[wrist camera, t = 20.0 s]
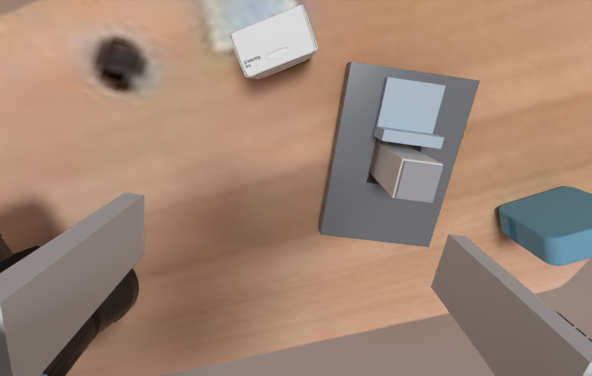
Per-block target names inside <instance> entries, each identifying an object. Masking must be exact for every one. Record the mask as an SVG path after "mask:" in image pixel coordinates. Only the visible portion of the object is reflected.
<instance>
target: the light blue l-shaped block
mask: <svg viewBox="0 0 592 376" xmlns="http://www.w3.org/2000/svg"><path fill="white" fill-rule="evenodd" d="M445 87H446V86H445V85H438V84H432V83H425V82H418V81H411V80H405V79H398V78H391V77H386V80H385V85H384V90H383V94H382V99H381V104H380V108H379V113H378V118H377V122H376V127H375V132H374V136H375V137H376V138H378V139H380V140H381V141H386V142H394V143H401V144H409V145H416V146H423V147H431V148H438V149H441V147H442V144H443V141H444V137H441V136H438V135H435V134H433V130H434V127H435V123H436V119H437V116H438V112H439V108H440V105H441V101H442V98H443V94H444V90H445Z"/></svg>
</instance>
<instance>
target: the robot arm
mask: <svg viewBox="0 0 592 376" xmlns="http://www.w3.org/2000/svg"><path fill="white" fill-rule="evenodd" d="M1 236H2V234H1V232H0V376H65V375H66V374H67V373H68V372H69V370H70V369H71V368H72V366H73V365H74V364H75V362H76V361H77V360H78V359H79V357H80V356H81V355H82V353H83V352H84V351H85V349H86V348H87V347H88V345H89V344H90V343H91V342H92V340H93V339H94V338H95V337H96V335H97V334H98V333H99V332H101V331H102V330H104V329H105V328H106V327H108V326H109V325H110V324H112V323H114V322H116V321H117V320H119V319H120V318H122V317H123V316H124V315H125V314H126V313H127V312H128V311H129V309H130V308H131V306H132V305H133V304H134V302H135V300H136V298H137V295H138V281H137V278H136V275H135V273H134V271H133V270H132V268H133V266H134V265H135V264H136V263H137V262H138V261H139V259H140V258H141V257H142V256H143V255H144V195H140V194H132V193H123V194H122V195H120V196H119V197H117V198H116V199H114V200H113V201H111V202H110V203H108V204H106V205H105V206H103V207H102V208H100V209H99V210H97V211H96V212H94V213H93V214H91V215H89V216H88V217H86V218H85V219H83V220H82V221H80V222H79V223H77V224H76V225H74V226H72V227H71V228H69V229H68V230H66V231H65V232H63V233H62V234H60V235H59V236H57V237H56V238H54V239H52V240H51V241H49V242H48V243H46V244H45V245H43V246H42V247H40V246H34V247H32V248H29V249H26V250H24V251H21V252H18V253H16V254H13V252H12V251H11V250H10V248H9V247H8V246H7V244H6V243H5V242H4V240H3V239H2V238H1ZM431 287H432V289H433V290H434V292H435V293H436V294H437V296H438V297H439V298H440V300H441V301H442V303H443V304H444V305H445V307H446V308H447V310H448V311H449V312H450V314H451V315H452V316H453V318H454V319H455V321H456V322H457V323H458V325H459V326H460V328H461V329H462V330H463V332H464V333H465V334H466V336H467V337H468V338H469V340H470V341H471V343H472V344H473V346H474V347H475V348H476V350H477V351H478V352H479V354H480V355H481V356H482V358H483V359H484V361H485V362H486V363H487V365H488V366H489V368H490V369H491V370H492V372H493V373H494V374H495V376H592V340H591V339H589V338H586V335H585V334H584V333H582V332H581V331H580V330H579V329H577V328H574V325H573V324H571V323H570V322H569V321H568V320H567V319H565V318H564V317H563V316H562V315H561V314H559V313H558V312H556V311H555V310H553V309H552V308H550V307H549V306H548V305H547V304H546V303H545V302H543V301H542V300H541V299H540V298H538V297H537V296H536V295H535V294H534V293H533V292H531V291H530V290H529V289H528V288H527V287H525V286H524V285H523V284H522V283H521V282H519V281H518V280H517V279H516V278H515V277H513V276H512V275H511V274H510V273H509V272H507V271H506V270H505V269H504V268H503V267H501V266H500V265H499V264H498V263H497V262H495V261H494V260H493V259H492V258H491V257H489V256H488V255H487V254H486V253H485V252H483V251H482V250H481V249H480V248H479V247H477V246H476V245H475V244H474V243H473V242H471V241H470V240H469V239H468V238H467V237H465V236H459V235H451V234H449V235H448V238H447V241H446V244H445V247H444V250H443V253H442V256H441V259H440V262H439V265H438V268H437V271H436V274H435V277H434V279H433V282H432V285H431Z"/></svg>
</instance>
